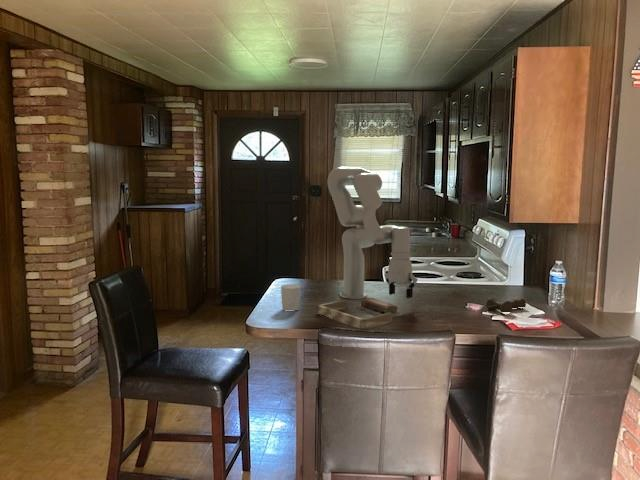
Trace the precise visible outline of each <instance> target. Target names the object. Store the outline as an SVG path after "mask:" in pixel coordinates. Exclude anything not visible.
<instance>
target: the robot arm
mask: <svg viewBox="0 0 640 480" xmlns="http://www.w3.org/2000/svg"><path fill="white" fill-rule="evenodd" d="M327 176H328V177H327V187H328V188H327V189H328V190H329V194H330V196H331V198H332V200H333V204H334V207H335V211H336V215H337V217H338V221H339V222H340V224H341V225H342V226H343V227H352V228H348V229H346V230H345V231H344V232H343V234H342V236H341V244H342V249H343V281H342V283H341V285H339V286H338V289H340V290H341V292H340V293H339V296H340V297H341V298H344V299H347V298H348V299H349V300H361V299H365V298H368V293H367V292H365V255H364V251H363V250H362V249H366V248H370V247H373V246H374V245H375V244H376V245H382V244H389V243H391V252H390V255H391V258H390V259H389V263H388V272H386V273H385V274H384V277H385V281H386V282H387V285H388V294H389V296H391V295H395V294H396V284H401V285H405V286H406V292H405V293H406V299H410V298H413V295H414V294H413V292H414V290H413V289H414V288H415V287H416V284H417V282H418V278H417V277H416V276H415V275H414V274H413V267H412V259H411V257H410V255H411V253H410V252H411V230H410V228H409V227H408V226H397V225H393V224H389V225H388V224H386V225H380V224H379V222H378V220H377V217H376V212H377V210H378V209H379V208H380V207H381V205H382V204H383V200H382V198H381V196H380V195H379V191H380V190H381V189H382V186H383V180H382V178H381V176H380V175H379V174H377V173H375V172H373V171H370V170H367V169H364V168H362V167H358V166H339V167H335V168H333V169H332V170H331V171H330V172H329V173H328V175H327ZM345 186H353V187H354V190H355V192H356V194H357V197H358V198H359V200H360V203H361V204H357V205H355V204H354V201H353V197H352V195H351V193H350V192H349V190H348V189H347V188H346V187H345ZM395 283H396V284H395Z"/></svg>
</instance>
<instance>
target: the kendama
mask: <svg viewBox="0 0 640 480" xmlns="http://www.w3.org/2000/svg"><path fill="white" fill-rule="evenodd" d="M526 302H527V301H526V300H525V298H523V297H518V298H513V299H512V298H511V299H510V301H509V300H506V301H503V302H500V301H498V300H497V299H496V298H494V297H489V298H488V299H487V300H486V303H485V304H486V305H485V306H486V307H485V308H486V309H487V310H488V311H495V310H497V311H500V312H511V313H512V312H513V309H512V308H517V309H519V308H518V307H525V308H526V306H527V303H526Z"/></svg>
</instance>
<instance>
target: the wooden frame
mask: <svg viewBox="0 0 640 480" xmlns="http://www.w3.org/2000/svg"><path fill="white" fill-rule="evenodd" d="M346 308H347V309H348V300H347V299H342V300H336V301H332V302H327V303H322V304H317V305H316V313H318V314H321V315H324V316H326V317H325V318H327V317H329V318H328V319H330V318H331V320H333V319H334V320H333V321H336V322H339V323H342V324H346V325H348V326H351V327H353V328H357V329H360V330H363V331H364V330H368V329H371V328H375V327H379V326H383V325H386V324H391V323H393V317H392V313H385V314H381V315H377V316H375V315H372V316H369V317H366V318H361V317H359V316H355V315H352V314H349V313H346V312H342V311H341V310H340V309H342V310H346ZM316 313H315V314H316ZM318 314H317V315H318ZM321 315H320V316H321ZM324 316H323V317H324Z"/></svg>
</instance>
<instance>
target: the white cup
mask: <svg viewBox="0 0 640 480" xmlns="http://www.w3.org/2000/svg"><path fill="white" fill-rule="evenodd" d="M280 293H281V298H280V299H281V304H282V305H281V309H282V308H283V309H284V310H297V309H298V308H299V307H300V297H301V296H300V295H301V286H300V285H299V284H294V283H292V284H291V283H288V284H282V285H281V286H280ZM299 309H300V308H299ZM299 309H298V310H299Z"/></svg>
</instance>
